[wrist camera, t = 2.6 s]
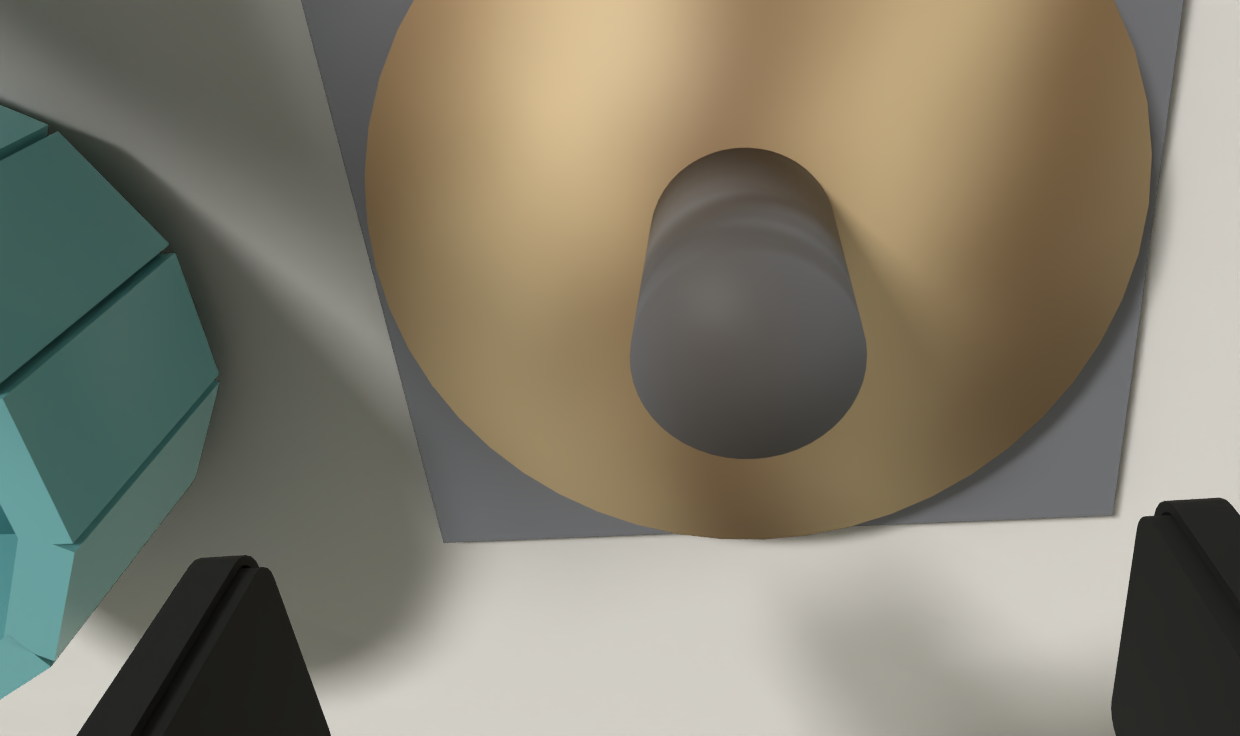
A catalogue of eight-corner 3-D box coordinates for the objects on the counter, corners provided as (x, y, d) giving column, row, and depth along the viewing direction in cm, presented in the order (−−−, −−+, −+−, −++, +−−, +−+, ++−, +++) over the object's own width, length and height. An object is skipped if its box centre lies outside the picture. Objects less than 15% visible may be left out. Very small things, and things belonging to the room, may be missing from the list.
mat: (1213, -306, 16) (1225, -308, 16) (1105, 502, 24) (1112, 515, 23) (268, -169, 18) (257, -168, 18) (448, 530, 26) (443, 542, 26)
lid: (1186, -266, 16) (1404, -290, 11) (1091, 498, 23) (1196, 701, 18) (292, -141, 18) (119, -112, 13) (458, 525, 25) (390, 715, 20)
